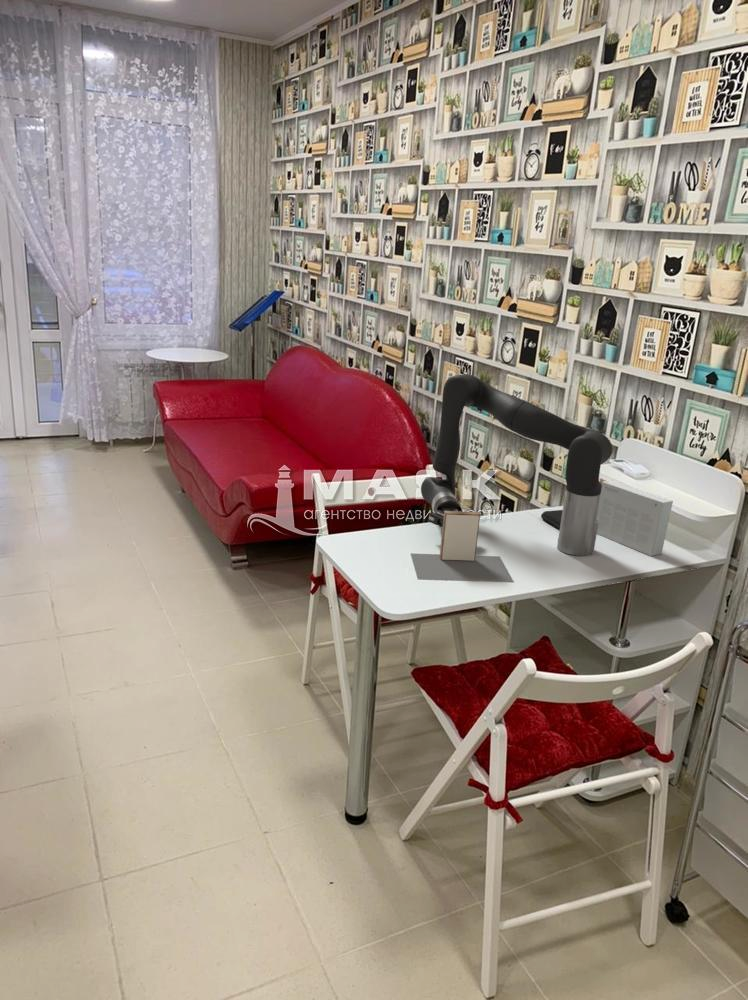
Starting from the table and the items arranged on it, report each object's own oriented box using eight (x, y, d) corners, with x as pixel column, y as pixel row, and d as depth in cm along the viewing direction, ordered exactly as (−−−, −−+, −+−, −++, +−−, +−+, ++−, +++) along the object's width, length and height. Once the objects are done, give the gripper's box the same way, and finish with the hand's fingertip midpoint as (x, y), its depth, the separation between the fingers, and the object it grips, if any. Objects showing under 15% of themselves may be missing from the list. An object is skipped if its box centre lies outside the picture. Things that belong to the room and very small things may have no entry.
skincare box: (663, 553, 212) (674, 500, 207) (651, 557, 209) (662, 503, 204) (603, 529, 228) (612, 479, 223) (591, 531, 225) (600, 481, 220)
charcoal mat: (499, 558, 201) (499, 556, 201) (513, 584, 186) (514, 582, 186) (410, 555, 199) (410, 553, 199) (417, 581, 184) (417, 579, 184)
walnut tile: (473, 558, 198) (478, 512, 194) (474, 561, 196) (480, 514, 192) (439, 557, 198) (444, 510, 193) (440, 560, 196) (445, 513, 191)
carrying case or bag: (595, 533, 225) (566, 516, 238) (597, 524, 224) (567, 507, 237) (565, 536, 221) (537, 519, 234) (567, 526, 220) (539, 509, 233)
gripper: (424, 494, 214) (433, 515, 198) (470, 496, 215) (482, 517, 199) (422, 519, 216) (430, 542, 200) (467, 520, 218) (479, 543, 201)
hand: (456, 529), depth 199 cm, fingers closed
